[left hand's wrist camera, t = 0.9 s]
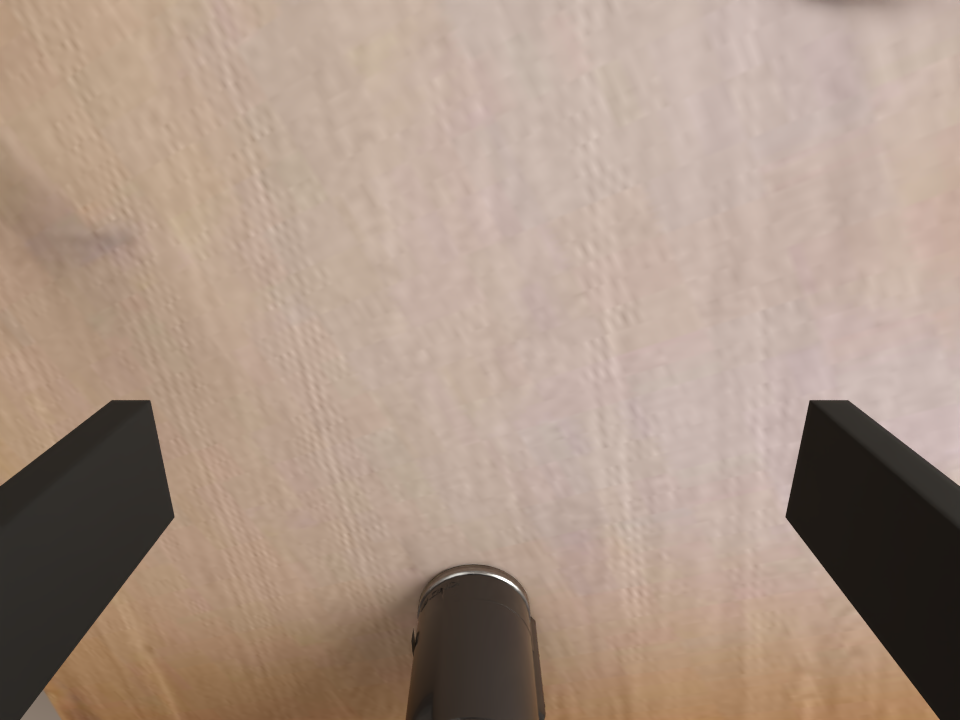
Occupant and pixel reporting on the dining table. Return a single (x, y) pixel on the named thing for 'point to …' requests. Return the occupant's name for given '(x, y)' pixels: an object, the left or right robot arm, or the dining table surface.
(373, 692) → the dining table surface
